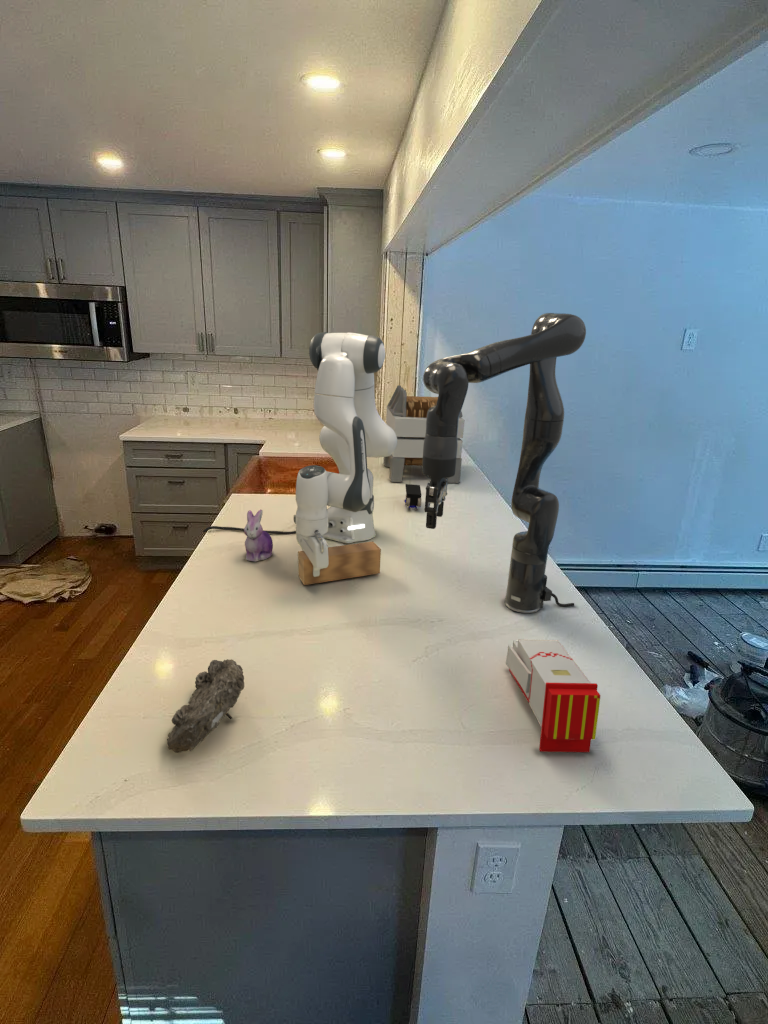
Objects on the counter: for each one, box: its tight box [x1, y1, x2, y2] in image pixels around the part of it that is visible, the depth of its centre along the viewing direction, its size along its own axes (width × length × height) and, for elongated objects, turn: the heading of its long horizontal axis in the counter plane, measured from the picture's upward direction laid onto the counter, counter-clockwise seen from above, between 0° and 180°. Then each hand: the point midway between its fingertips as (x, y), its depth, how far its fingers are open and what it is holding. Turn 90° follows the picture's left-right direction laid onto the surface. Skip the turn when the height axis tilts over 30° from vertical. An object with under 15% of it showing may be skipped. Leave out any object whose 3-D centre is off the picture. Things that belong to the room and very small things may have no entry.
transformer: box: [383, 384, 465, 484], centre depth 268 cm, size 34×33×41 cm
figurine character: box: [403, 483, 422, 512], centre depth 227 cm, size 7×8×15 cm
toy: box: [505, 638, 602, 753], centre depth 114 cm, size 12×13×30 cm
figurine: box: [243, 508, 274, 562], centre depth 175 cm, size 9×10×15 cm
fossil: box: [166, 658, 245, 754], centre depth 106 cm, size 22×10×15 cm
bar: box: [297, 541, 382, 586], centre depth 164 cm, size 23×6×8 cm, turn 113°
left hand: (312, 569), depth 162 cm, fingers closed on bar, 6 cm apart
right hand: (434, 521), depth 132 cm, fingers open, 8 cm apart
